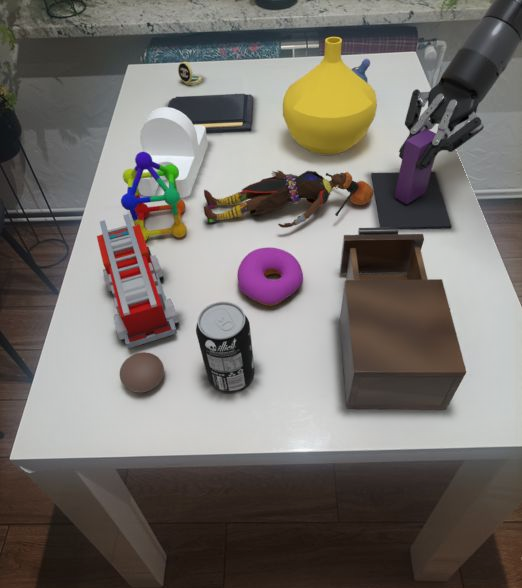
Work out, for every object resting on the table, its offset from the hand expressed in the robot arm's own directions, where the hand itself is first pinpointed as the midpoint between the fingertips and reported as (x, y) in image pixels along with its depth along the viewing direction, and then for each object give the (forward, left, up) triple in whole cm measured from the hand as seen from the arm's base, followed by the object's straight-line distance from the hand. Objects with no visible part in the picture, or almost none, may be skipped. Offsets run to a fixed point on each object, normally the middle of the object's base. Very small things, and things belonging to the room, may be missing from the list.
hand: (410, 162), depth 79 cm
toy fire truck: (+43, +24, -9) cm, 50 cm away
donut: (+23, +20, -9) cm, 32 cm away
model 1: (+43, +5, -9) cm, 45 cm away
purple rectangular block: (-2, -1, -7) cm, 8 cm away
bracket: (+43, -13, -9) cm, 46 cm away
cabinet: (+6, +35, -8) cm, 36 cm away
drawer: (+6, +22, -7) cm, 24 cm away
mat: (-2, -1, -8) cm, 9 cm away
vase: (+12, -21, -9) cm, 26 cm away
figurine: (+20, 0, -9) cm, 22 cm away
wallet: (+38, -33, -9) cm, 52 cm away
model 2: (+8, -37, -9) cm, 39 cm away
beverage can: (+28, +37, -9) cm, 47 cm away
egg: (+40, +38, -9) cm, 56 cm away
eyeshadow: (+44, -50, -9) cm, 68 cm away
